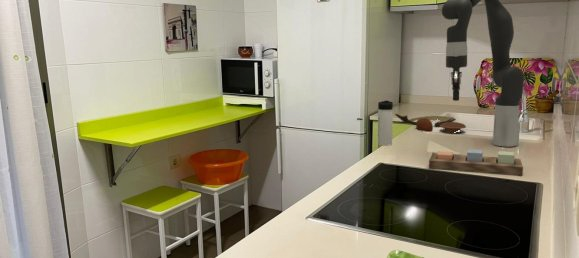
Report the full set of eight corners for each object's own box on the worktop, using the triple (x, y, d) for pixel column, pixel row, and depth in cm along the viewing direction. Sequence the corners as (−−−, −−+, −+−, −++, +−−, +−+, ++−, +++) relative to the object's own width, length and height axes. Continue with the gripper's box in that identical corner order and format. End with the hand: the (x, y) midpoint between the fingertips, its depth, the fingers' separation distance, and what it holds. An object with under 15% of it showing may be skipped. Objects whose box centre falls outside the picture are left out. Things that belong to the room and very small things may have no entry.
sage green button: (513, 161, 159) (513, 152, 158) (514, 164, 154) (514, 155, 154) (497, 160, 161) (498, 151, 160) (497, 163, 156) (498, 154, 156)
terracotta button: (452, 160, 167) (452, 152, 166) (451, 164, 162) (452, 155, 162) (438, 159, 169) (438, 151, 168) (437, 162, 164) (437, 154, 163)
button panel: (519, 167, 161) (520, 158, 161) (522, 175, 151) (523, 167, 150) (432, 160, 173) (432, 153, 172) (428, 168, 162) (429, 160, 162)
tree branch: (451, 132, 228) (452, 117, 226) (392, 128, 242) (392, 114, 240) (458, 125, 247) (458, 111, 246) (403, 122, 261) (403, 109, 260)
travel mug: (392, 145, 201) (393, 100, 197) (391, 148, 195) (392, 102, 191) (378, 144, 203) (379, 100, 199) (376, 147, 197) (377, 102, 193)
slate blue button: (482, 159, 163) (482, 150, 162) (482, 162, 158) (482, 153, 157) (467, 158, 164) (467, 149, 164) (466, 161, 160) (467, 152, 159)
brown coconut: (460, 120, 226) (459, 132, 227) (436, 121, 225) (435, 133, 227) (470, 124, 214) (469, 137, 215) (445, 125, 214) (445, 137, 215)
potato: (429, 137, 221) (414, 129, 222) (425, 134, 233) (411, 127, 233) (437, 123, 220) (422, 116, 221) (432, 121, 232) (418, 114, 232)
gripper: (446, 54, 177) (446, 98, 180) (445, 55, 164) (444, 102, 168) (467, 53, 174) (466, 98, 177) (467, 54, 162) (466, 102, 165)
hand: (456, 100), depth 172 cm, fingers closed
